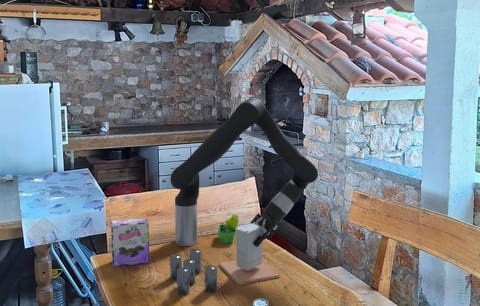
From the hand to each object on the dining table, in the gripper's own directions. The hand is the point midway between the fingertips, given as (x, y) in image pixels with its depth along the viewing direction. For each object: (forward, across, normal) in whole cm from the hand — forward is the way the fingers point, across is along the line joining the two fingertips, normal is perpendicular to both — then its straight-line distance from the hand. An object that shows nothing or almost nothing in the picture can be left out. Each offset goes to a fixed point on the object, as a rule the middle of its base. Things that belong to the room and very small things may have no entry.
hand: (250, 241), depth 174 cm
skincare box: (+7, 0, +6) cm, 9 cm away
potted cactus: (+4, -33, +12) cm, 36 cm away
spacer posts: (+24, +1, -9) cm, 26 cm away
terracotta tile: (+8, 0, +8) cm, 11 cm away
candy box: (+35, -25, -19) cm, 47 cm away
